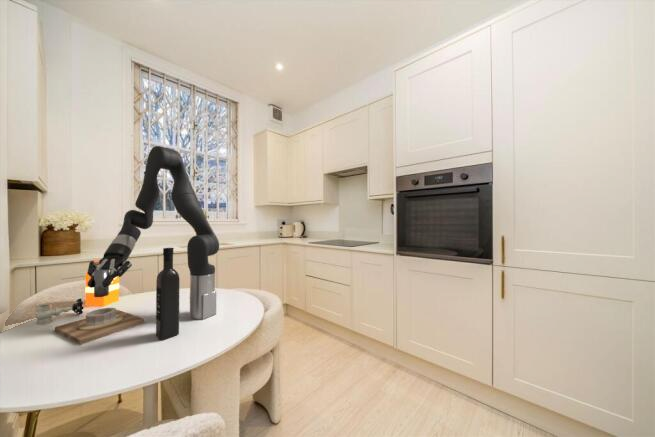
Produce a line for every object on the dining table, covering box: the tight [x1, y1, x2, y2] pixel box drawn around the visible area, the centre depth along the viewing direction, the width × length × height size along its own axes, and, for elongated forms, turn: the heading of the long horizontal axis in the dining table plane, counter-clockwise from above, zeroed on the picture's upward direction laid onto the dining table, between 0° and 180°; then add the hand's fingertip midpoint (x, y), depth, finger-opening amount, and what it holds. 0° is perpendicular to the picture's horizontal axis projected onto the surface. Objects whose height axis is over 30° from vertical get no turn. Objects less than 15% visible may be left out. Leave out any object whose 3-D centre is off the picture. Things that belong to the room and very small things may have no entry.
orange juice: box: [84, 259, 120, 307], centre depth 112 cm, size 8×9×20 cm
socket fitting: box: [54, 307, 145, 346], centre depth 88 cm, size 20×18×6 cm
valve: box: [35, 298, 84, 326], centre depth 94 cm, size 7×7×12 cm
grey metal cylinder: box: [94, 269, 109, 297], centre depth 88 cm, size 4×4×10 cm
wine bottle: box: [155, 247, 181, 341], centre depth 82 cm, size 6×6×30 cm
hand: (97, 286), depth 86 cm, fingers closed on grey metal cylinder, 4 cm apart
